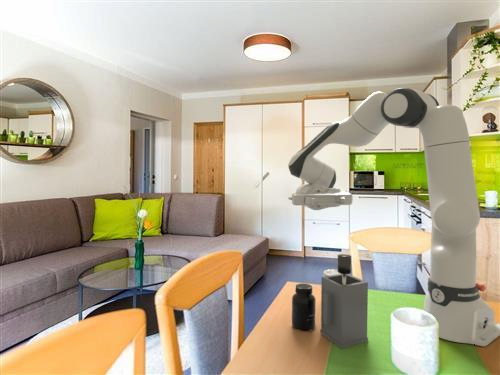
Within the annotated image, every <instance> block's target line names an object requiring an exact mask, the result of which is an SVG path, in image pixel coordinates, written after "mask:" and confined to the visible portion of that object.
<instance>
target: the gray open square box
mask: <svg viewBox="0 0 500 375" xmlns="http://www.w3.org/2000/svg"><path fill="white" fill-rule="evenodd" d="M320 288H321V290H320V291H321V298H320V299H321V301H320V302H321V303H320V308H321V310H320V320H321V321H320V322H321V323H320V329H319V333H320V334H321V335H322V336H324V337H325V338H326V339H328V340H329V341H330V342H332V343H333V344H334V345H335V346H337V347H338V348H339V349H340V350H341V349H342V350H343V349H345V348H349V347H352V346H355V345H359V344H362V343H365V342H366V343H367V342H368V341H369V337H368V304H369V303H368V301H369V300H368V298H369V296H368V295H369V283H368V281H366V280H365V279H364V280H363V279H362V278H359V277H356V276H355V275H351V274H346V285H342V274H337V275H331V276H326V277H324V276H321V286H320Z"/></svg>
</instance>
